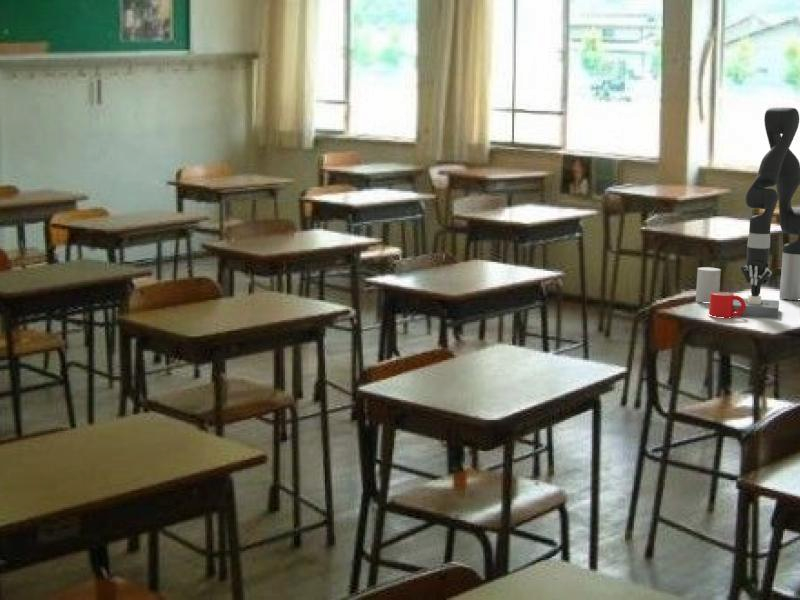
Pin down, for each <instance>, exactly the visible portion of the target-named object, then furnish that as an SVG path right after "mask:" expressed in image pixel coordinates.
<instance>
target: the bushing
mask: <svg viewBox="0 0 800 600" xmlns="http://www.w3.org/2000/svg"><path fill="white" fill-rule="evenodd" d="M747 299H748V304H761V300H762V296H761V295H759V296H753V295H752V294H748V296H747Z"/></svg>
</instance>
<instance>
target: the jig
mask: <svg viewBox="0 0 800 600" xmlns="http://www.w3.org/2000/svg"><path fill="white" fill-rule="evenodd" d="M741 298H742V299H743V300H744V301H745V304H746V308H745V311H744V312H743V313H742V314H741V315H739V317H751V318H764V319H766V318H767V319H778V317H779V307H780V301H779V300H775V299H774V300H773V299H761V304H748V298H743V297H741ZM740 309H741V303H740V302H739V301H738V300H734V301H733V312H738V311H739V310H740Z"/></svg>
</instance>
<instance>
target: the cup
mask: <svg viewBox="0 0 800 600" xmlns="http://www.w3.org/2000/svg"><path fill="white" fill-rule="evenodd" d="M721 271H722V269H720V268H717V267H709V266H706V267H705V266H704V267H697V273H696V275H697V276H696V289H695V290H696V292H695V302H697V303H699V302H710V293H711V292H720V289H721V288H720V287H721V286H720V285H721Z"/></svg>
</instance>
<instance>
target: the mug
mask: <svg viewBox="0 0 800 600" xmlns="http://www.w3.org/2000/svg"><path fill="white" fill-rule="evenodd" d="M742 298H743V297H741V296H740V295H734V293H732V292H728V291H727V292H725V291H719V292H711V293H710V304H708V305H709V307H708V308H709V309H708V315H709V314H710V315H712V316H716V317H724V318H723V319H730V318H729V317H732V316H733V317H738V316H739V315H741V314H742V313H743V312H744V311H745V308H746V304H745V301H744V300H743V299H742ZM734 300H738V301H739V302H740V303H741V309H740V310H739V311H738V312H733V301H734ZM733 317H732V318H733ZM739 317H740V316H739Z"/></svg>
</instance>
